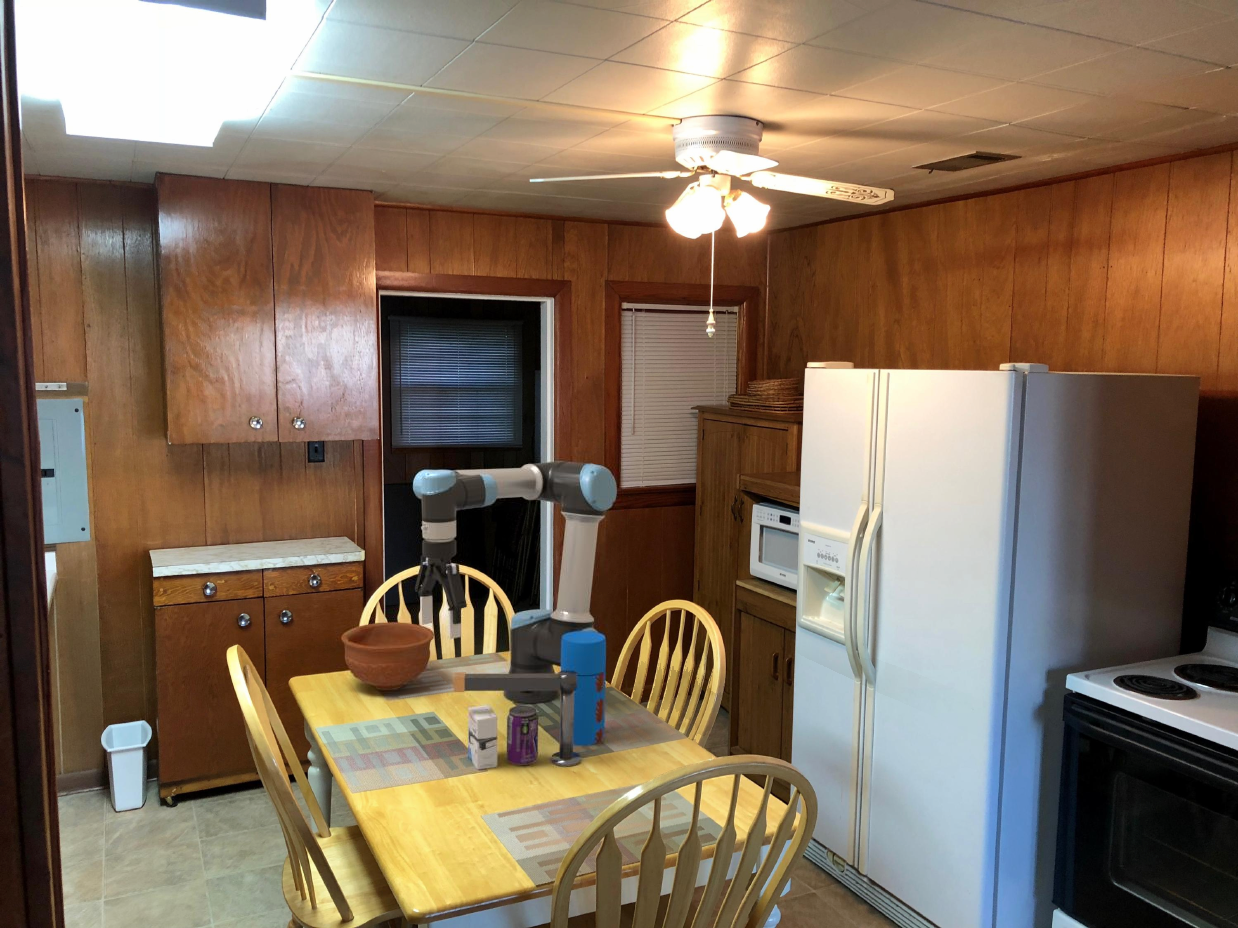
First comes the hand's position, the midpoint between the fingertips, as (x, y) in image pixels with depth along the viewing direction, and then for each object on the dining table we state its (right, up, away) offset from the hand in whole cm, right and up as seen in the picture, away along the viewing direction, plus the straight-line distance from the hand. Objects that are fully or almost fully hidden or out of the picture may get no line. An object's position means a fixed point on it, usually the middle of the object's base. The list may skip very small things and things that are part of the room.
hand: (440, 630), depth 219 cm
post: (+29, -30, +1) cm, 41 cm away
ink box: (+10, -30, -1) cm, 31 cm away
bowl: (-23, -24, +49) cm, 59 cm away
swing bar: (+18, -13, -2) cm, 22 cm away
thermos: (+32, -29, +15) cm, 45 cm away
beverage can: (+19, -30, 0) cm, 35 cm away
